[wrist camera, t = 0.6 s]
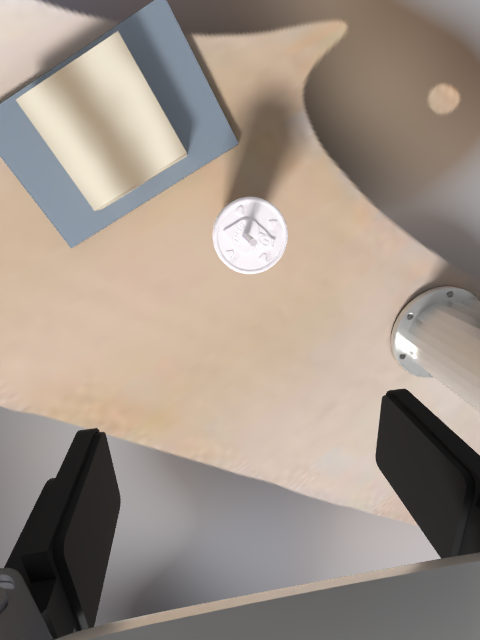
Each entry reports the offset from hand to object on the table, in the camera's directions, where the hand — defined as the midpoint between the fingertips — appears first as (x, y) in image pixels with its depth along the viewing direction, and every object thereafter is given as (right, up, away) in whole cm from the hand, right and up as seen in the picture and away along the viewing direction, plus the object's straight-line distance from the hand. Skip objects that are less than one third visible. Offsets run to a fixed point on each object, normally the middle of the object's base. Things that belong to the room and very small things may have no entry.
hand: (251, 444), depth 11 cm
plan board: (-12, +22, +22) cm, 33 cm away
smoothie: (-1, +14, +26) cm, 30 cm away
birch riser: (-12, +22, +22) cm, 33 cm away
